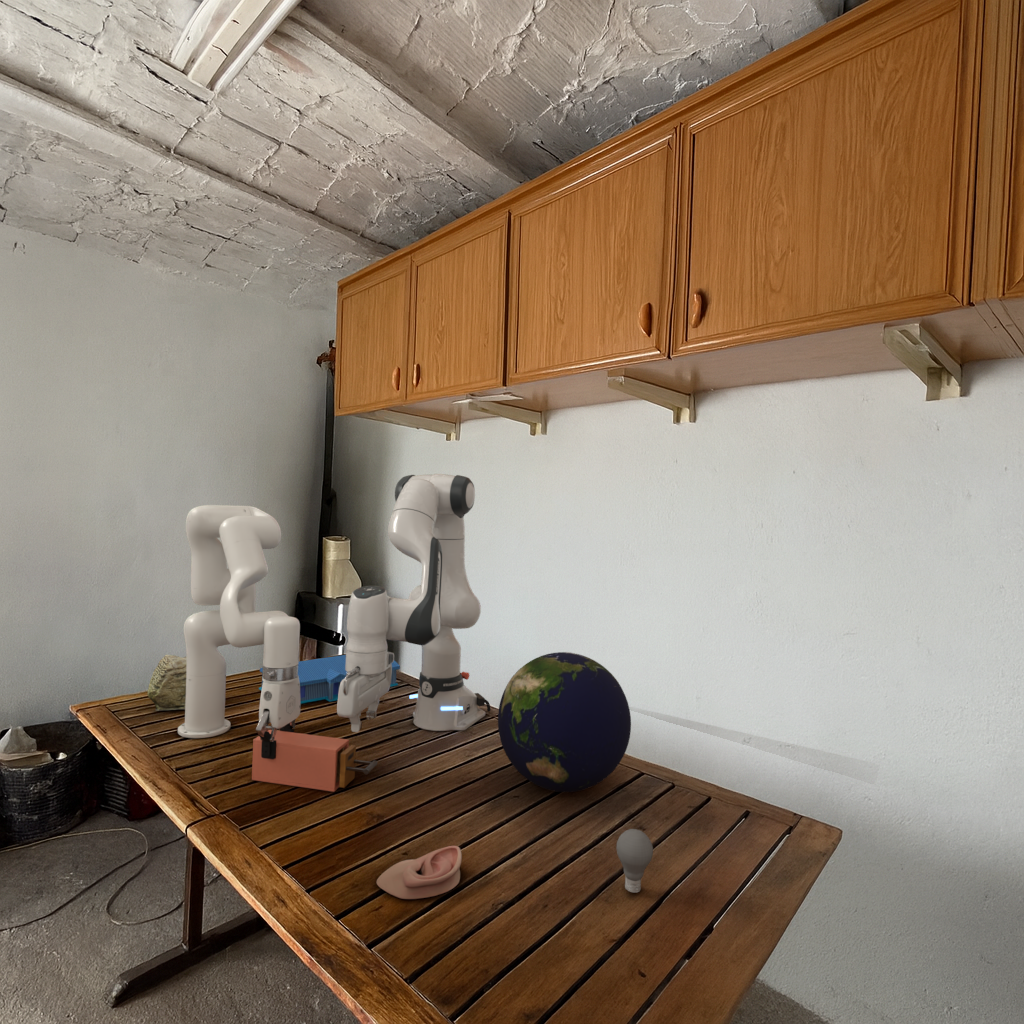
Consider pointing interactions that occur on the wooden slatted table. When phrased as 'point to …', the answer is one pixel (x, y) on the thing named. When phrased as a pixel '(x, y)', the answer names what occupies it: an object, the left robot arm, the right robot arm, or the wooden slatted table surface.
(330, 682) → the model building
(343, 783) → the drawer
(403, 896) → the anatomical model
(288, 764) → the cabinet
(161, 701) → the fossil
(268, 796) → the wooden slatted table surface
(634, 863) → the light bulb
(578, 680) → the globe
